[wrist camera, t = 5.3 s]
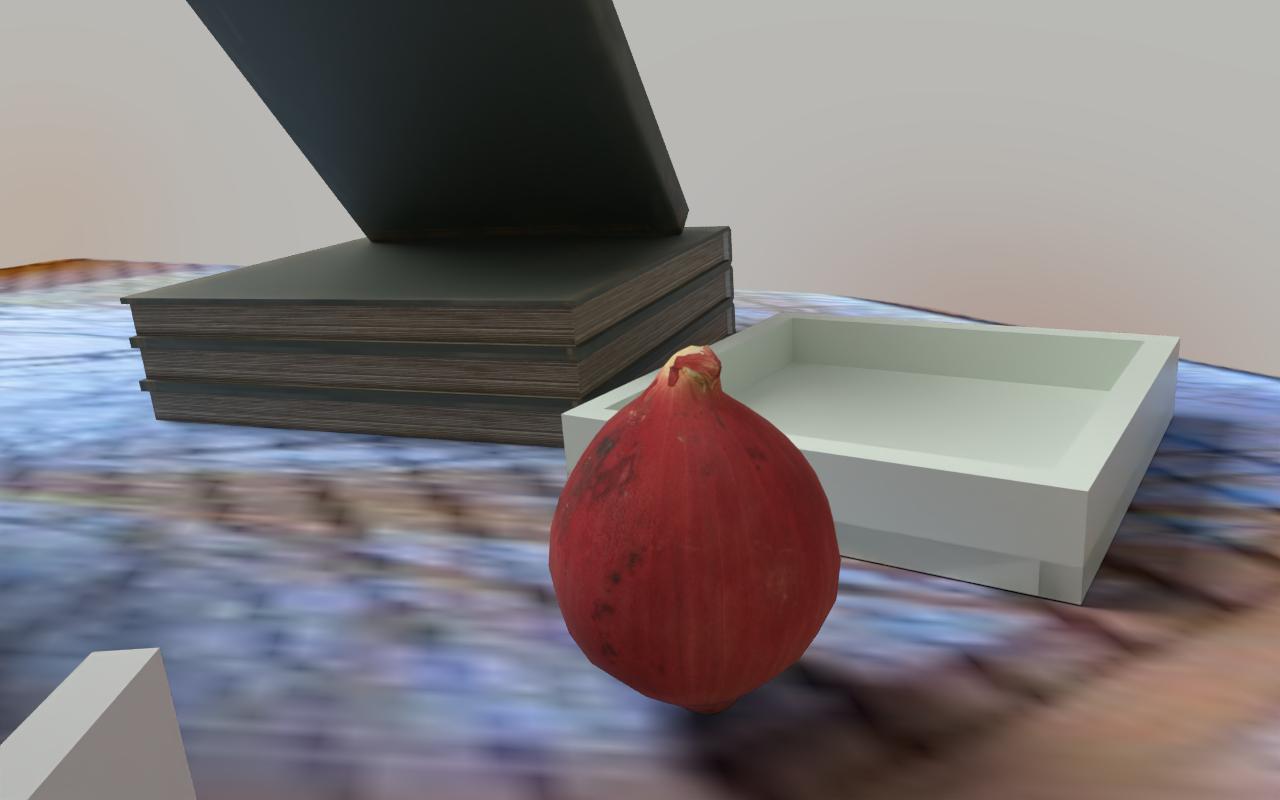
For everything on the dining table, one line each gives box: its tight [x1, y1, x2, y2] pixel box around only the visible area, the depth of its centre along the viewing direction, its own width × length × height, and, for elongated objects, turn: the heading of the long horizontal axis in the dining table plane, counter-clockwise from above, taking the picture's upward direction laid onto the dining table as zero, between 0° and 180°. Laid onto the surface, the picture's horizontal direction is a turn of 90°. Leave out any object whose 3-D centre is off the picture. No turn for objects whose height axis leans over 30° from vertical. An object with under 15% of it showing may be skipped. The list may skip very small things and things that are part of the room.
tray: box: [561, 312, 1180, 605], centre depth 34 cm, size 16×16×3 cm
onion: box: [549, 345, 841, 714], centre depth 20 cm, size 6×6×8 cm
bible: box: [120, 0, 735, 448], centre depth 47 cm, size 23×20×25 cm
